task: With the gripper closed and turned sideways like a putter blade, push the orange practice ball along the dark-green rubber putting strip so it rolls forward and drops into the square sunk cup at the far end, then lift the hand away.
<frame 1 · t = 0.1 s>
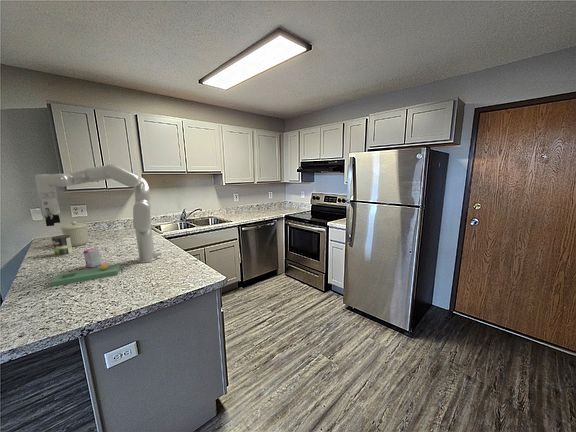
hand: (53, 224, 140), 31 cm above the counter, fingers open, 9 cm apart
ball: (104, 266, 144), point 4 cm above the counter, touching green
supplement box: (94, 266, 157), on the counter
canister: (78, 244, 207), on the counter
green: (88, 276, 141), on the counter
coffee can: (64, 254, 182), on the counter
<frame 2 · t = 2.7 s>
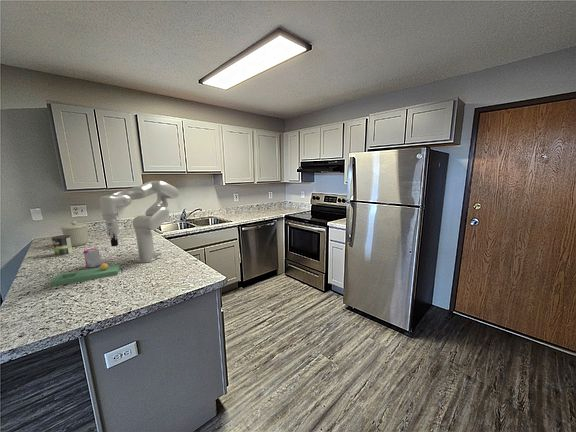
hand: (114, 245, 145), 17 cm above the counter, fingers closed
nothing on the counter moved.
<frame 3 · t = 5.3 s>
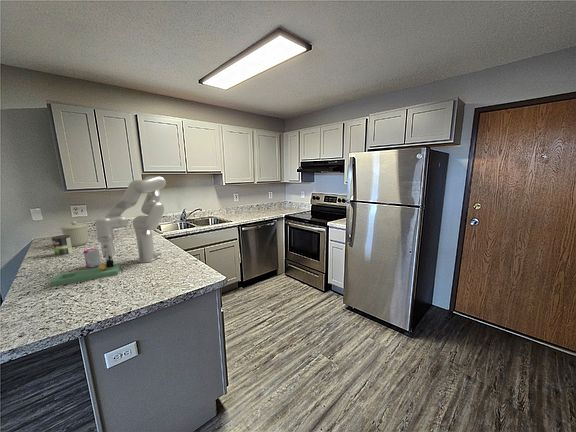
hand: (110, 266, 145), 4 cm above the counter, fingers closed
ball: (102, 266, 144), point 4 cm above the counter, tilted 17°, touching green
everything else where it was.
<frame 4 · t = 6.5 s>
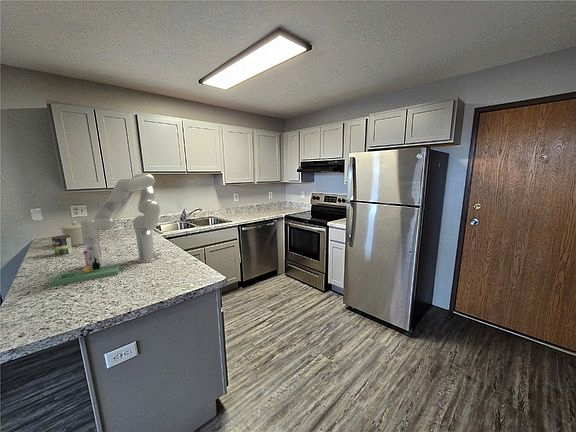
hand: (96, 269, 142), 4 cm above the counter, fingers closed
ball: (87, 269, 140), point 4 cm above the counter, tilted 133°, touching green
everything else where it was.
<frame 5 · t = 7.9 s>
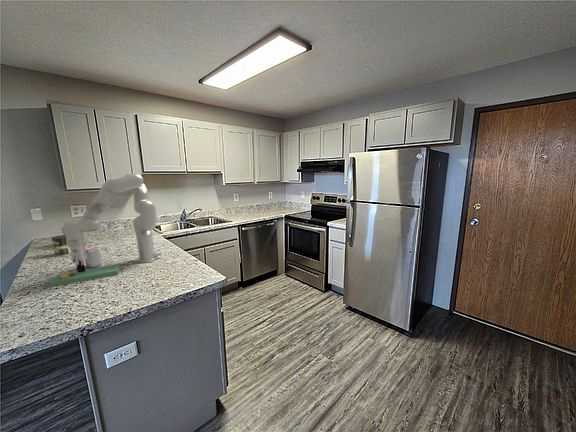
hand: (81, 271, 139), 4 cm above the counter, fingers closed
ball: (65, 276, 135), point 2 cm above the counter, tilted 179°, touching green
everything else where it was.
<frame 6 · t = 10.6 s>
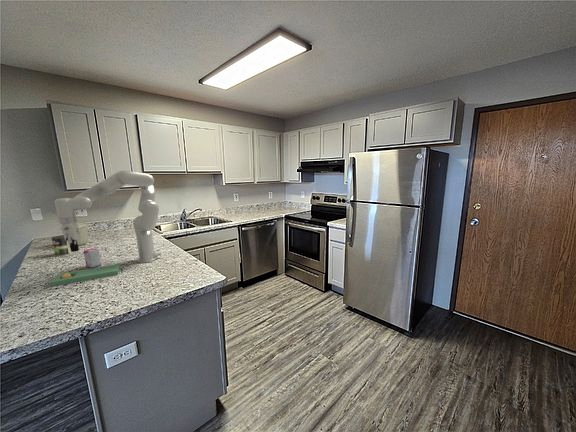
hand: (75, 250, 136), 17 cm above the counter, fingers closed
ball: (66, 276, 135), point 2 cm above the counter, tilted 164°, touching green
everything else where it was.
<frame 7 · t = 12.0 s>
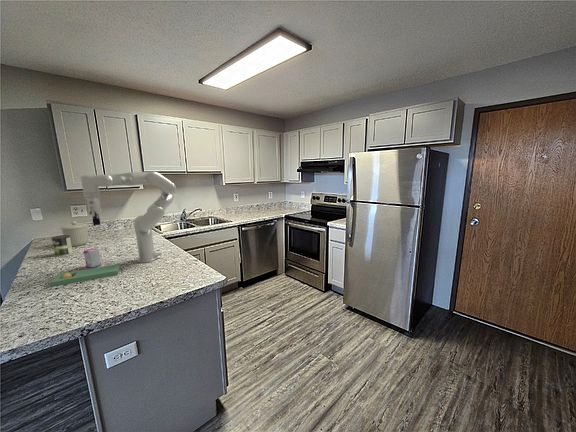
hand: (97, 224, 147), 29 cm above the counter, fingers closed
ball: (67, 276, 136), point 2 cm above the counter, tilted 155°, touching green
everything else where it was.
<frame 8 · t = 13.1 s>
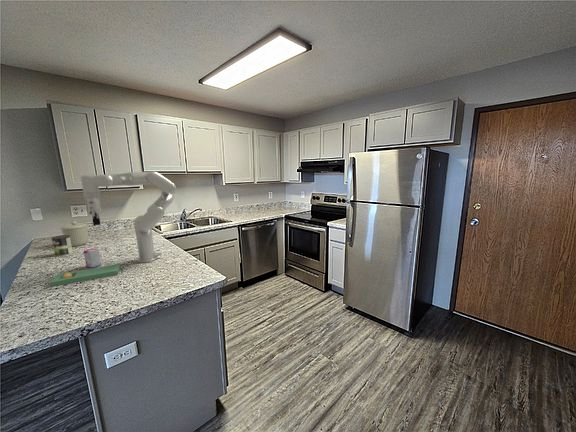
hand: (97, 224, 147), 29 cm above the counter, fingers closed
ball: (67, 276, 136), point 2 cm above the counter, tilted 148°, touching green
everything else where it was.
at the end: ball 0.7 cm from the target spot on the green, point 2.2 cm above the green's base; the gripper is holding nothing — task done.
